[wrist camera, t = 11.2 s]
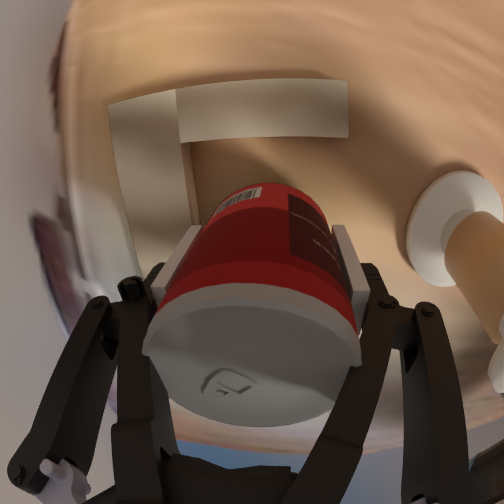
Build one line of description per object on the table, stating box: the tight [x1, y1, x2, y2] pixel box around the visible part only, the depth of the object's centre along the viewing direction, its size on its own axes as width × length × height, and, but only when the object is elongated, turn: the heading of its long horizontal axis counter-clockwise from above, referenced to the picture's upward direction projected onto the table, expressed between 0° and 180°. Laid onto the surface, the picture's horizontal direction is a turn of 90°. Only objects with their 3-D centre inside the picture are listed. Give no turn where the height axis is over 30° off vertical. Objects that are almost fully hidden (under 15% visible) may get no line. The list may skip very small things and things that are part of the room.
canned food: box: [142, 183, 362, 427], centre depth 13 cm, size 8×8×11 cm
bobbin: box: [405, 170, 504, 393], centre depth 12 cm, size 10×10×13 cm
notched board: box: [108, 78, 349, 280], centre depth 19 cm, size 20×15×2 cm
